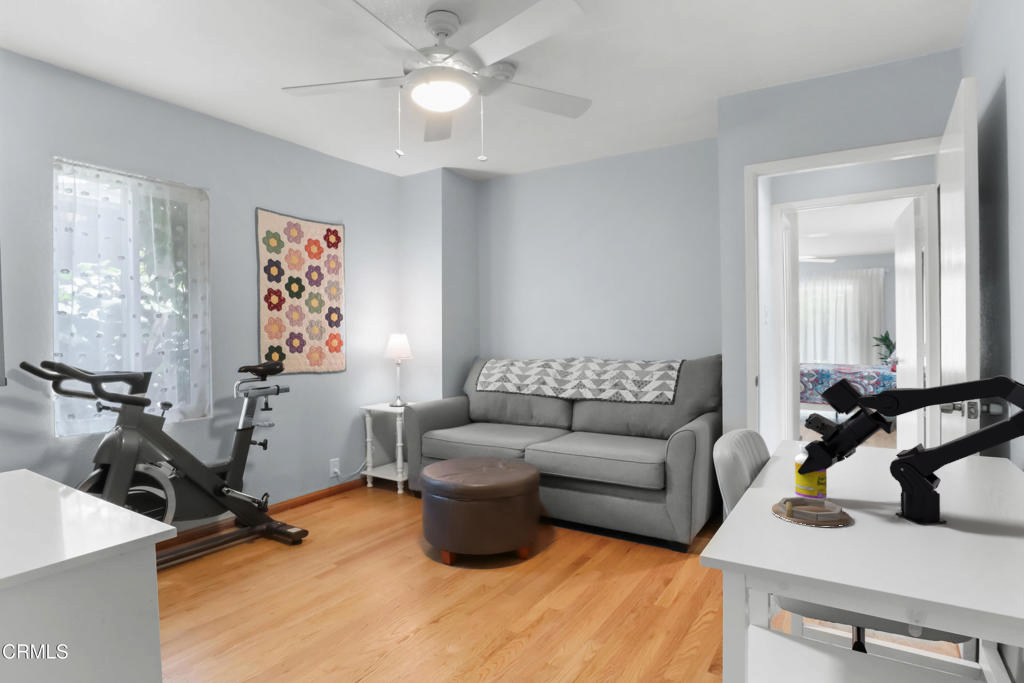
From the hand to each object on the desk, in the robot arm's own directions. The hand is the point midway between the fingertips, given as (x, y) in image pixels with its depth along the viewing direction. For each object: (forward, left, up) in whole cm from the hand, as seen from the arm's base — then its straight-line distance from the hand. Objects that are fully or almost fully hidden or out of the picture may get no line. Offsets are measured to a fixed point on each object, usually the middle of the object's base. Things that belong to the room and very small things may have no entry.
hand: (804, 470), depth 133 cm
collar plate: (-12, +7, -7) cm, 16 cm away
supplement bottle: (-1, -1, -7) cm, 7 cm away
